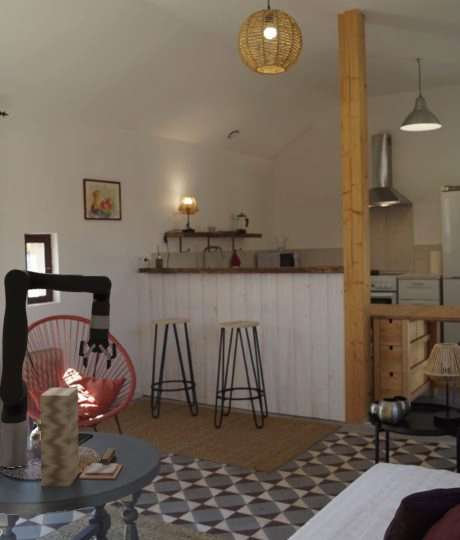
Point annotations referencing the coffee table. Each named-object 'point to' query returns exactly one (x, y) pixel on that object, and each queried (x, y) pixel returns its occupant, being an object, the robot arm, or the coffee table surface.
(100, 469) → the turner
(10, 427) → the robot arm
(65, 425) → the stand
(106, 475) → the tile
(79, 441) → the phone
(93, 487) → the coffee table surface
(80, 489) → the coffee table surface
